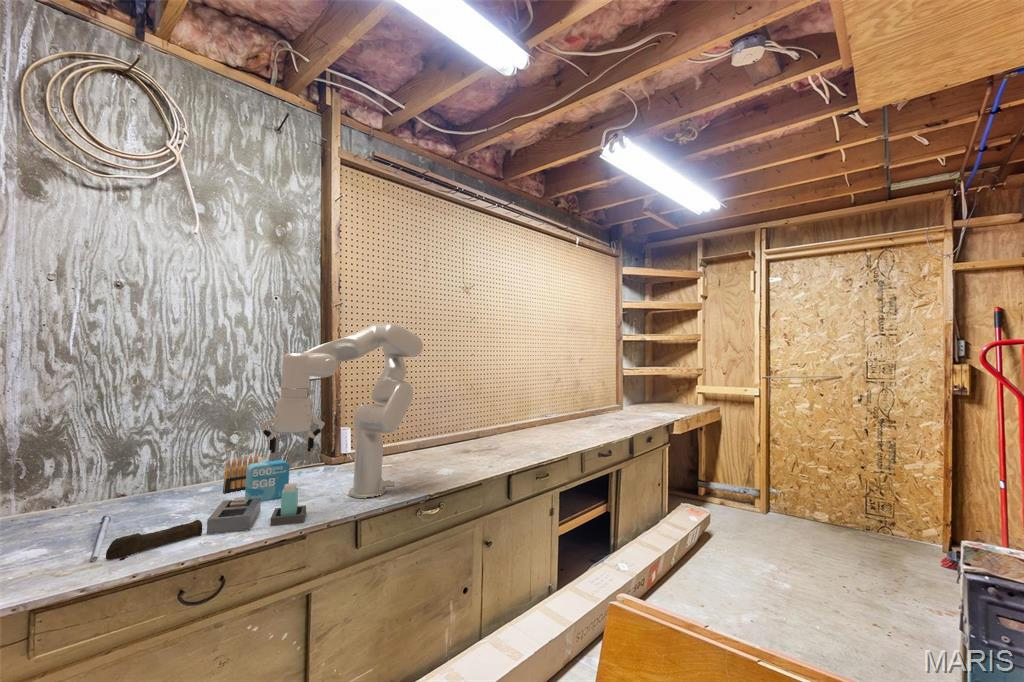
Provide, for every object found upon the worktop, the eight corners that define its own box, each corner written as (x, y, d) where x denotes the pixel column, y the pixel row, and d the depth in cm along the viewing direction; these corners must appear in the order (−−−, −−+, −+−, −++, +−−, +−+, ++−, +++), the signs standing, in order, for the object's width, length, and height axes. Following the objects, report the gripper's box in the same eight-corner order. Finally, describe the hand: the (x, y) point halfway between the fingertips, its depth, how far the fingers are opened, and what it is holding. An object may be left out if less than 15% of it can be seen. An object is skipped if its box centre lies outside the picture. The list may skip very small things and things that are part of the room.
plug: (296, 516, 129) (298, 482, 130) (295, 520, 126) (297, 486, 126) (282, 517, 128) (283, 483, 128) (280, 522, 124) (282, 487, 125)
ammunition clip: (224, 493, 148) (226, 458, 148) (222, 492, 149) (224, 457, 149) (258, 487, 156) (260, 454, 156) (256, 486, 157) (258, 453, 157)
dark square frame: (305, 512, 132) (306, 505, 132) (303, 522, 124) (303, 514, 124) (274, 515, 129) (275, 508, 129) (270, 526, 121) (270, 518, 121)
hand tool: (196, 532, 116) (197, 515, 116) (203, 536, 114) (204, 518, 114) (102, 558, 100) (103, 538, 101) (107, 563, 98) (108, 542, 98)
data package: (248, 504, 138) (250, 466, 139) (244, 500, 141) (246, 464, 142) (288, 497, 146) (289, 461, 147) (283, 493, 150) (285, 459, 150)
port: (260, 510, 133) (261, 493, 133) (249, 530, 118) (250, 510, 118) (222, 514, 129) (223, 496, 129) (206, 534, 114) (207, 514, 114)
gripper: (326, 393, 135) (323, 448, 134) (264, 393, 129) (260, 450, 128) (325, 395, 128) (322, 452, 127) (259, 395, 122) (255, 455, 121)
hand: (291, 451), depth 127 cm, fingers open, 9 cm apart
